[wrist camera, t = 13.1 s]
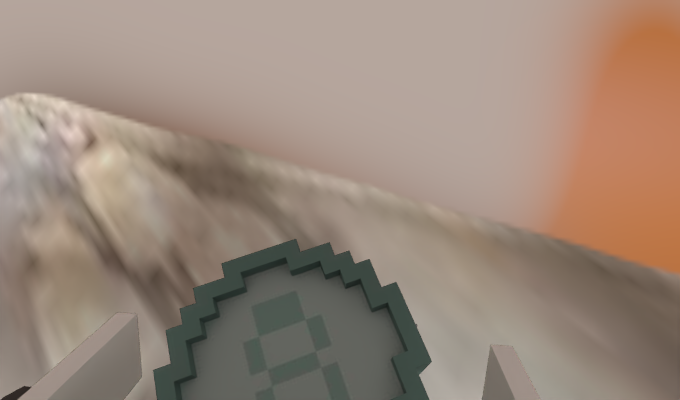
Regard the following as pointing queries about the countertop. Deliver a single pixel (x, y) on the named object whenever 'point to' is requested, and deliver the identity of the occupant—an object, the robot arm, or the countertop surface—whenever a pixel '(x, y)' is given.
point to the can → (295, 333)
